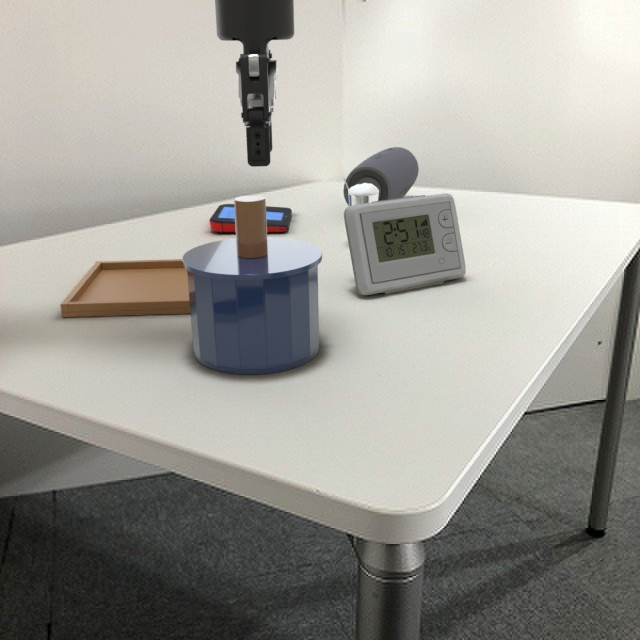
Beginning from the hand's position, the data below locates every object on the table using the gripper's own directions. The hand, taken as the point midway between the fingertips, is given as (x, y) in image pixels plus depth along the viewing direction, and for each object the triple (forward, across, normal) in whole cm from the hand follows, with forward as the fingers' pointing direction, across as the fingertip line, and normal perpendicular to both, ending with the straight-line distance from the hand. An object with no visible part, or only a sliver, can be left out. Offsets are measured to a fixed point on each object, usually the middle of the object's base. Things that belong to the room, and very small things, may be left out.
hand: (260, 158), depth 80 cm
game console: (+18, -48, -4) cm, 51 cm away
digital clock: (+18, -13, +17) cm, 28 cm away
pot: (+18, +7, -1) cm, 19 cm away
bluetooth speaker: (+18, -57, +19) cm, 63 cm away
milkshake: (+18, -33, +13) cm, 40 cm away
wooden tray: (+18, -13, -15) cm, 27 cm away
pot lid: (+9, +7, -1) cm, 11 cm away
